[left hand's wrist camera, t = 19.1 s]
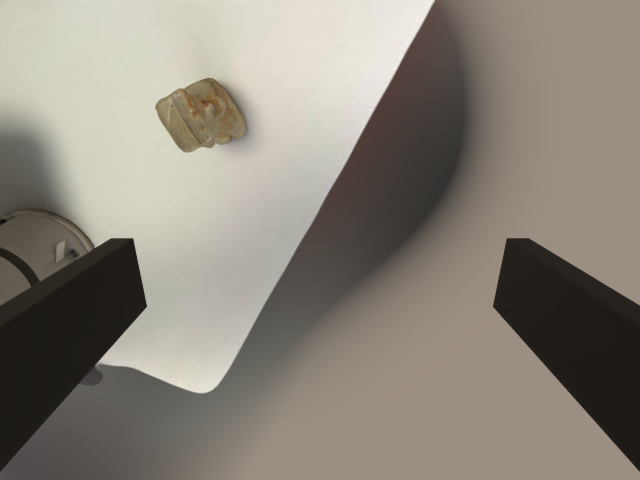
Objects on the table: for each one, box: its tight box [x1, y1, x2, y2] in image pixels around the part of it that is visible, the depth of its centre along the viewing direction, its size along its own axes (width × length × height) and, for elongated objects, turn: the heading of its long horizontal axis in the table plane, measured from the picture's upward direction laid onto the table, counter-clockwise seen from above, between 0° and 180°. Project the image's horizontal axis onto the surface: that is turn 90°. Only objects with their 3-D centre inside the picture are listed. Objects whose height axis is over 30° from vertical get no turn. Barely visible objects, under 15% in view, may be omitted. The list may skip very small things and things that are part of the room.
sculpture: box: [155, 78, 246, 152], centre depth 36 cm, size 6×7×15 cm
